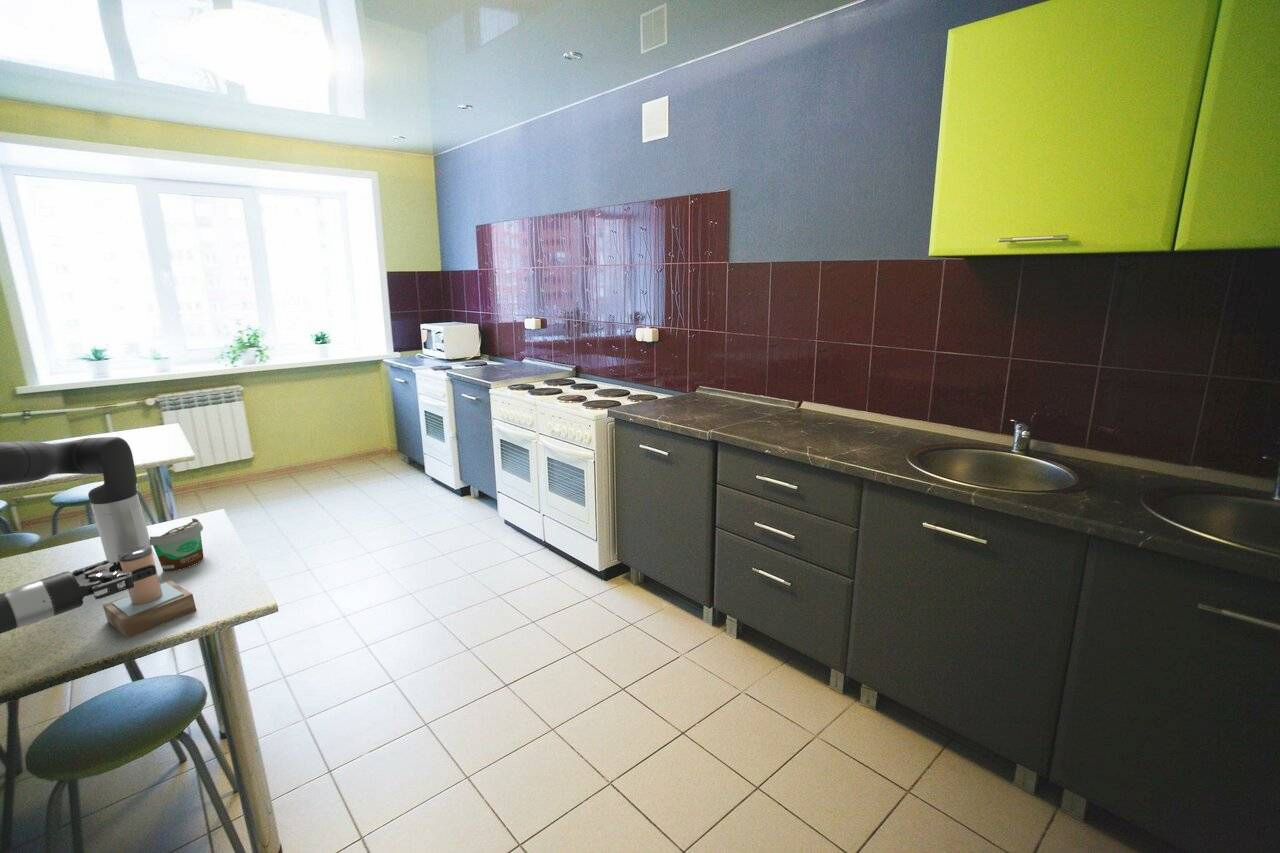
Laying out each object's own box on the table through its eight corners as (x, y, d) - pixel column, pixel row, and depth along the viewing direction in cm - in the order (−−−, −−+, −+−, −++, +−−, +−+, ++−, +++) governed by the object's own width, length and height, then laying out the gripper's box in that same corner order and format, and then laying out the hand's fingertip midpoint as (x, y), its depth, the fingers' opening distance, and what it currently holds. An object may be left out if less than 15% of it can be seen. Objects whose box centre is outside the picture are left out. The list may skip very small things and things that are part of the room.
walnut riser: (107, 621, 125) (102, 603, 123) (174, 595, 134) (169, 579, 133) (128, 638, 118) (122, 619, 117) (196, 610, 128) (192, 592, 127)
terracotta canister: (127, 601, 124) (113, 554, 121) (157, 589, 129) (145, 544, 126) (136, 607, 121) (123, 560, 119) (167, 595, 126) (155, 549, 123)
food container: (177, 576, 144) (167, 539, 141) (157, 574, 145) (147, 537, 142) (221, 553, 155) (213, 518, 153) (202, 551, 157) (194, 517, 154)
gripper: (49, 591, 107) (156, 555, 120) (27, 572, 114) (130, 540, 127) (60, 627, 108) (164, 588, 122) (38, 606, 116) (139, 571, 129)
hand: (147, 563), depth 124 cm, fingers open, 8 cm apart
